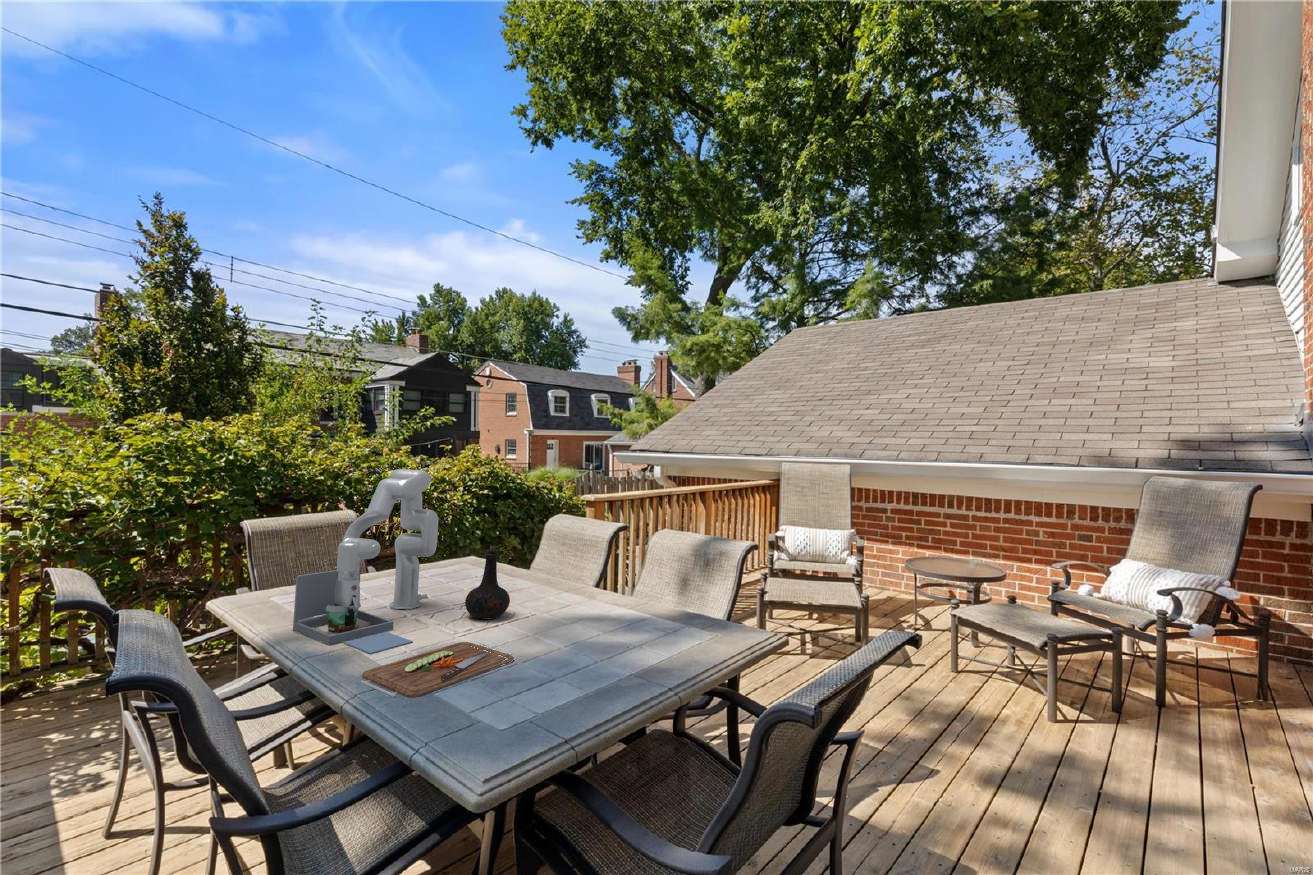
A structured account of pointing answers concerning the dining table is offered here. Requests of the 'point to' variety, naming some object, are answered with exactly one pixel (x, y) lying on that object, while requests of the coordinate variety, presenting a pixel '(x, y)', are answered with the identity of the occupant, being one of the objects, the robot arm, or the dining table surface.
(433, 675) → the chopping board
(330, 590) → the case
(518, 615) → the dining table surface
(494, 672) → the dining table surface
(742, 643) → the dining table surface
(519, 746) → the dining table surface
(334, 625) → the food container
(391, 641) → the mat
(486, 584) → the glass bottle
